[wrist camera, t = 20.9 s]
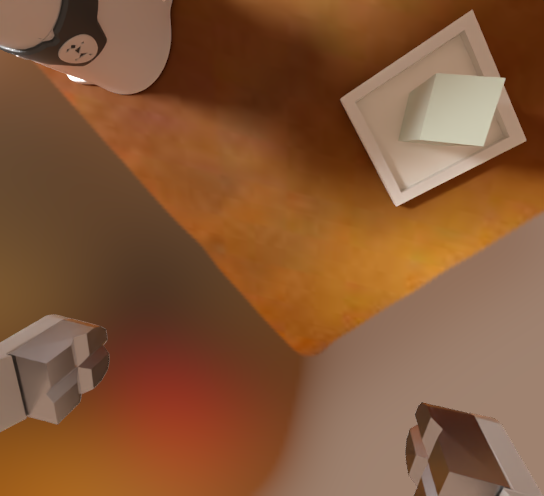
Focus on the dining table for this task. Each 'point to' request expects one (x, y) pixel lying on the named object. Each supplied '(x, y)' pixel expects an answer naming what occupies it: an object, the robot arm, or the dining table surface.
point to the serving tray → (392, 103)
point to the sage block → (451, 110)
